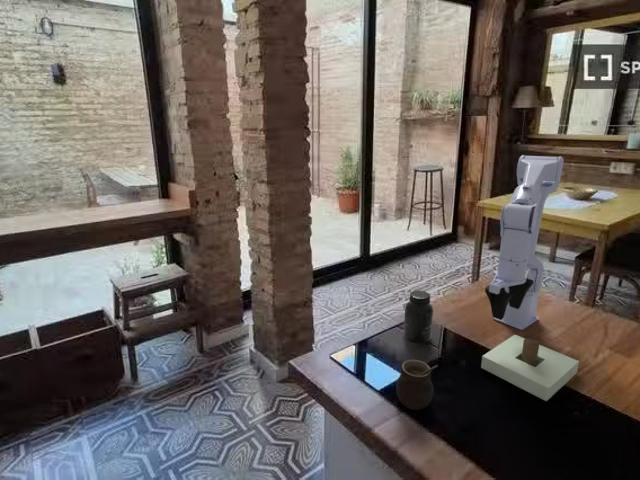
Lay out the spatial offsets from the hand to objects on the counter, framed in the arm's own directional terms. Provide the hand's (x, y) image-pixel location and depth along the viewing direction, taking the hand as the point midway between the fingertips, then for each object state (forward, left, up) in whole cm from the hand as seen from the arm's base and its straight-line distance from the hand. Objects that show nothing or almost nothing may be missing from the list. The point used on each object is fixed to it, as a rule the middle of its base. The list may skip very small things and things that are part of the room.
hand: (506, 312), depth 92 cm
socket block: (+3, +8, -10) cm, 13 cm away
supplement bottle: (+11, -16, -10) cm, 22 cm away
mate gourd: (+30, -1, -10) cm, 32 cm away
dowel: (+3, +8, -10) cm, 13 cm away
